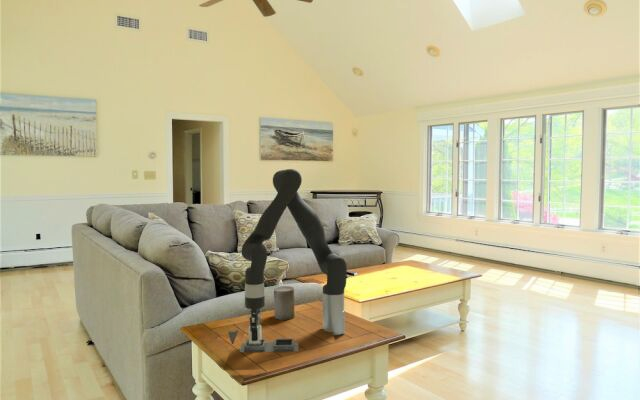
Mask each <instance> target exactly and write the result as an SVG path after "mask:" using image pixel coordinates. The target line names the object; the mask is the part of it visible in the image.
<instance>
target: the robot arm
mask: <svg viewBox="0 0 640 400" xmlns="http://www.w3.org/2000/svg"><path fill="white" fill-rule="evenodd" d="M302 181H303V179H302V175H301V173H300V172H299V171H298V170H296V169H294V168H288V169H282V170H278V171H276V172H275V173H274V174H273V177H272V185H273V187H274V189H275V190H276V195H275V197H274V199H273V200H272V201H271V202H270V204H269V205H268V207H266V208H265V210H264V211H263V213H261V216H260V217H259V220H258V222H257V223H256V226H255V228H254V230H252V232H251V233H250V234H249V236H248V237H247V238H246V239H245V241H244V242H243V245H242V246H241V256H242V257H243V259H244V260H246V261H251V262H250V267H247V268H246V269H245V273H244V274H245V275H244V279H245V281H244V283H245V285H244V307H245V308H246V309H248V310H249V309H250V311H249V315H248V317H249V326H250V331H251V334H252V341H257V340H258V334H257V331H258V325H260V323H261V322H260V321H261V312H262V311H261V309H263V308H264V307H265V306H266V305H265V303H266V301H265V297H266V296H265V292H266V291H265V281H264V280H265V274H264V273H265V269H266V263H267V260H268V250H267V247H266V246H265V245H264V244H263V243H264V242H266V241H268V240H270V239H271V238H272V236H273V234H274V232H275V230H276V228H277V225H278V224H279V221H280V220H281V218H282V215H283V214H284V211H285V210H286V209H288V210H289V212H290V214H291V216H292V218H293V219H294V221H295V223H296V225H297V227H298V228H299V230H300V232H301V234H302V236H303V237H304V239H305V241H306V243H307V245H308V246H309V248H310V249H311V251H312V253H313V255H314V257H315V260H316V262H317V265H318V266H319V269H320V271H321V272H322V273H323V274H324V275H326V283H325V284H324V285H323V286H322V330H323V331H324V332H328V333H332V335H333V336H339V335H345V334H346V333H345V331H346V329H345V328H346V326H345V325H346V324H345V323H346V314H345V313H346V312H345V311H346V310H345V288H346V286H347V275H348V268H347V266H348V265H347V262H346V260H345V258H343V257H342V256H339V255H335V254H334V253H333V251H332V250H331V248H330V247H329V245H328V243H327V240H326V235H325V234H326V233H325V228H324V226H323V223H322V222H321V219H320V217H319V216H318V214H317V213H316V212H315V210H314V209H313V208H312V207H311V206H310V205H309V203H307V202H306V201H304V199H303V198H302V197H301V195H300V194H299V192H298V191H299V189H300V187H301V185H302ZM253 326H255V327H256V328H253Z"/></svg>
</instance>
